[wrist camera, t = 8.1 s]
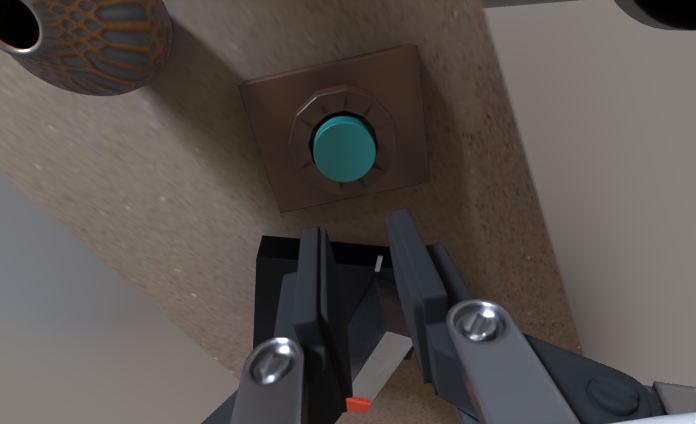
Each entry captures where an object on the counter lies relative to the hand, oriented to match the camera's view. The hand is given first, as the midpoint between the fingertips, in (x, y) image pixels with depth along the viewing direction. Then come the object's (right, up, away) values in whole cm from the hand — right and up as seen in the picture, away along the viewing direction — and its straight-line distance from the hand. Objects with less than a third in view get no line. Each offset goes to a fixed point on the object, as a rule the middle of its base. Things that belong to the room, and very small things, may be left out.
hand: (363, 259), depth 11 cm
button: (-1, +6, +11) cm, 12 cm away
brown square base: (-1, +7, +13) cm, 15 cm away
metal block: (+1, -7, +18) cm, 19 cm away
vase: (-14, +13, +10) cm, 21 cm away
